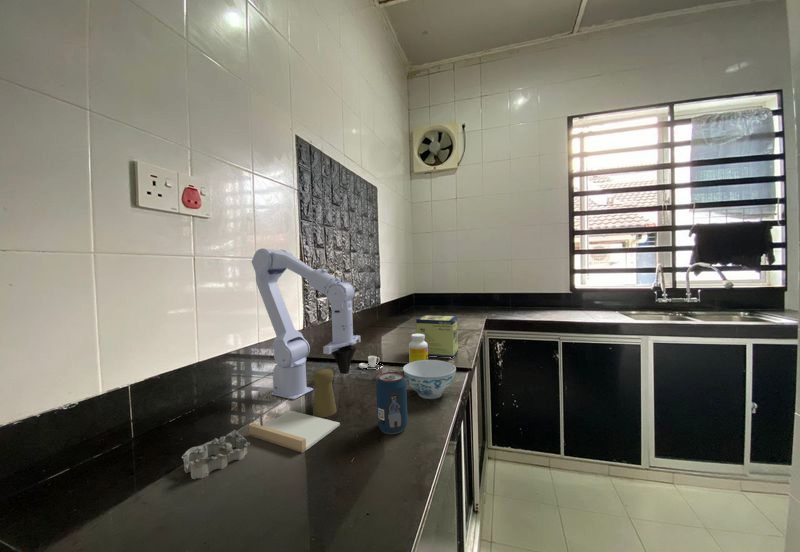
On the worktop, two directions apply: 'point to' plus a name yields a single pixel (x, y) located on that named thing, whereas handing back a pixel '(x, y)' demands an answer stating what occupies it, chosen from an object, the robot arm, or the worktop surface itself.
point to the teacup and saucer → (370, 362)
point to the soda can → (391, 402)
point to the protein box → (439, 334)
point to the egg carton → (222, 448)
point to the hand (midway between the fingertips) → (344, 372)
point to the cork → (323, 393)
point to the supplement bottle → (418, 348)
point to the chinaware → (429, 377)
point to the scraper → (294, 430)
